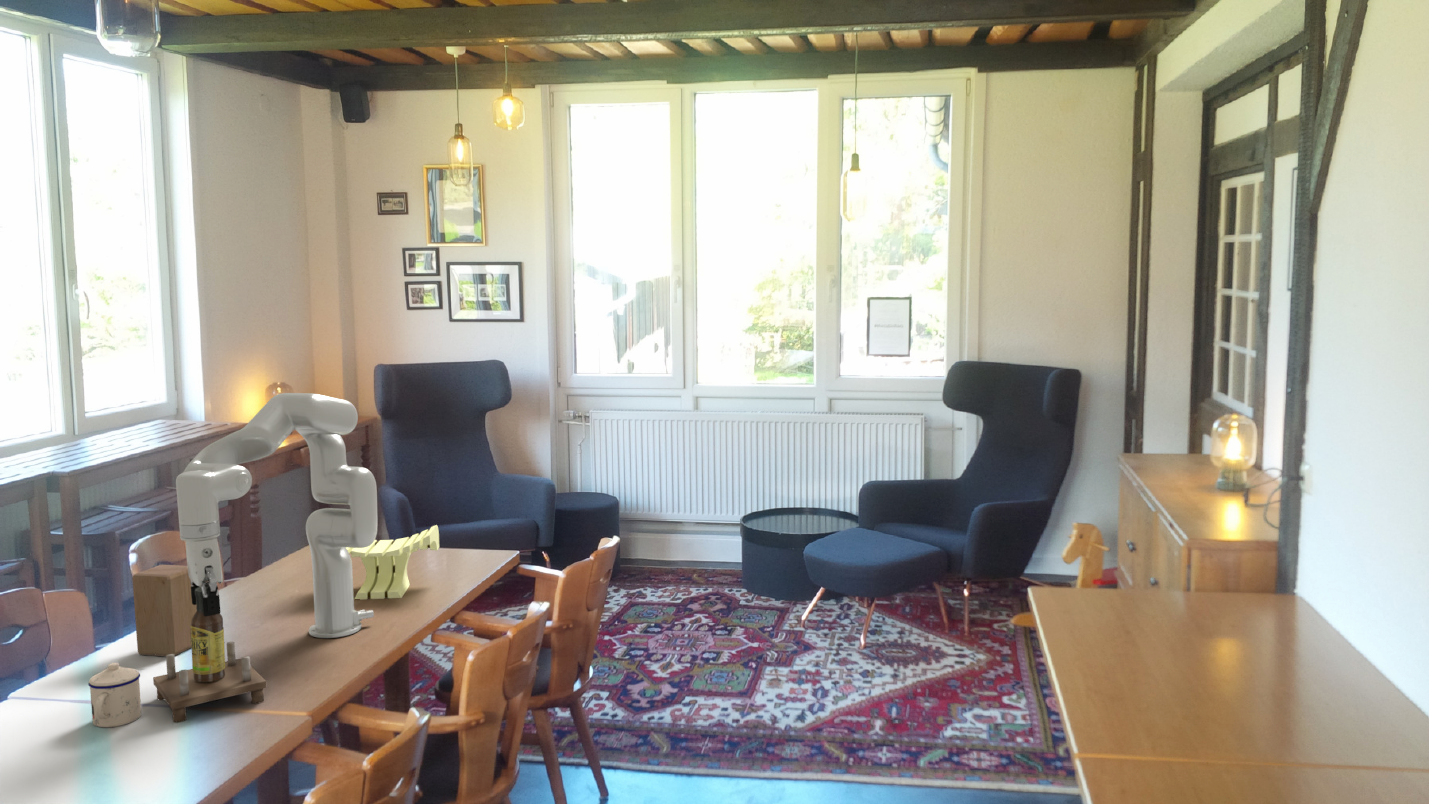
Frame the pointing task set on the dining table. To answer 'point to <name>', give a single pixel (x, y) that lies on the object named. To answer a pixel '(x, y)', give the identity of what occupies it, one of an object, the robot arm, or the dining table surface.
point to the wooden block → (163, 610)
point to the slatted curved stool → (391, 563)
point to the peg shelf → (208, 684)
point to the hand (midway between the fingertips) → (206, 608)
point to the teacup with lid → (115, 696)
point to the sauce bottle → (207, 644)
